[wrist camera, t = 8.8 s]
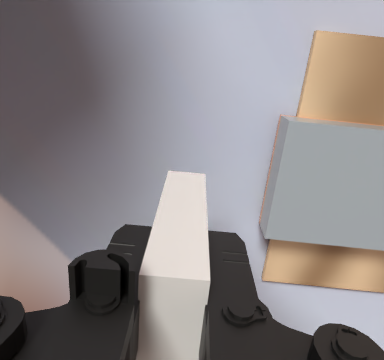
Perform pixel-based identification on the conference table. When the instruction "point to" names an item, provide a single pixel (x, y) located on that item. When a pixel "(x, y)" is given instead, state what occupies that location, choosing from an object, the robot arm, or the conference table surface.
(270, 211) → the tile
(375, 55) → the mat
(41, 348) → the robot arm
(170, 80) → the conference table surface
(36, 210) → the conference table surface
